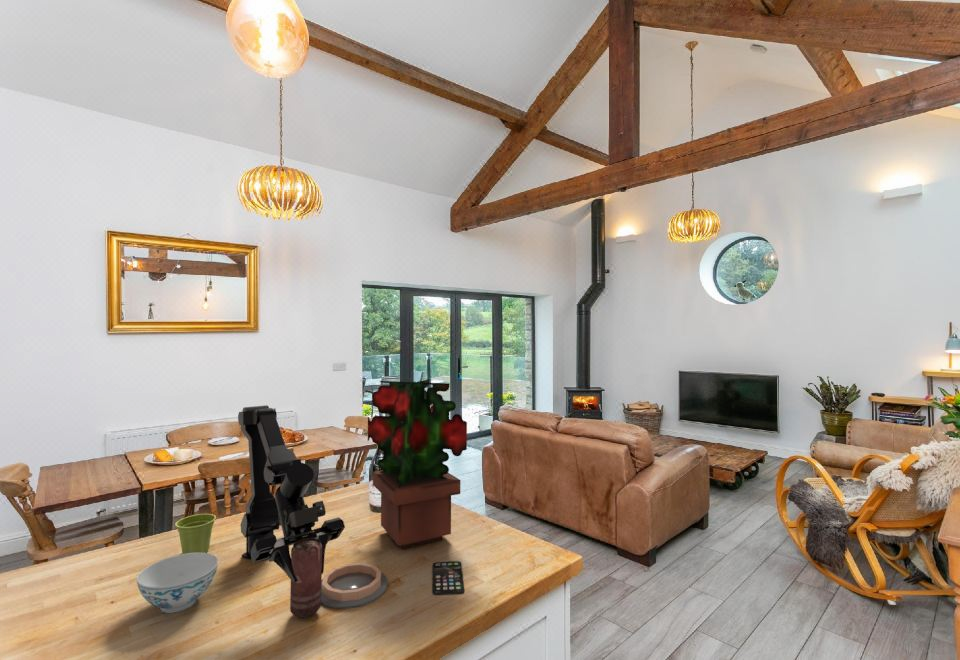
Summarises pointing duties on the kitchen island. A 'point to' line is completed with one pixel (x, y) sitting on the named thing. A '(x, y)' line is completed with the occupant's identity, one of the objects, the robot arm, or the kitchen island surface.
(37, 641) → the kitchen island surface
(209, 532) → the plant pot
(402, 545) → the potted plant
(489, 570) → the kitchen island surface
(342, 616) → the kitchen island surface
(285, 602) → the kitchen island surface
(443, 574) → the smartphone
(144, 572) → the chinaware
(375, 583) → the ring tray
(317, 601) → the can
